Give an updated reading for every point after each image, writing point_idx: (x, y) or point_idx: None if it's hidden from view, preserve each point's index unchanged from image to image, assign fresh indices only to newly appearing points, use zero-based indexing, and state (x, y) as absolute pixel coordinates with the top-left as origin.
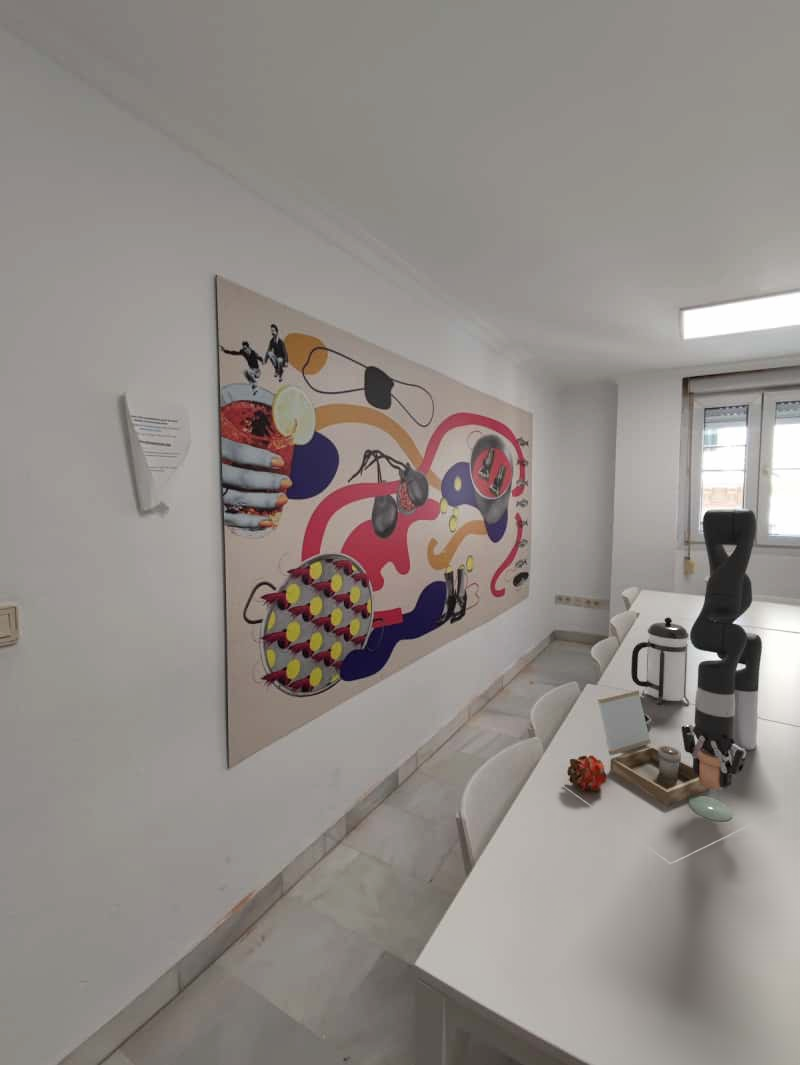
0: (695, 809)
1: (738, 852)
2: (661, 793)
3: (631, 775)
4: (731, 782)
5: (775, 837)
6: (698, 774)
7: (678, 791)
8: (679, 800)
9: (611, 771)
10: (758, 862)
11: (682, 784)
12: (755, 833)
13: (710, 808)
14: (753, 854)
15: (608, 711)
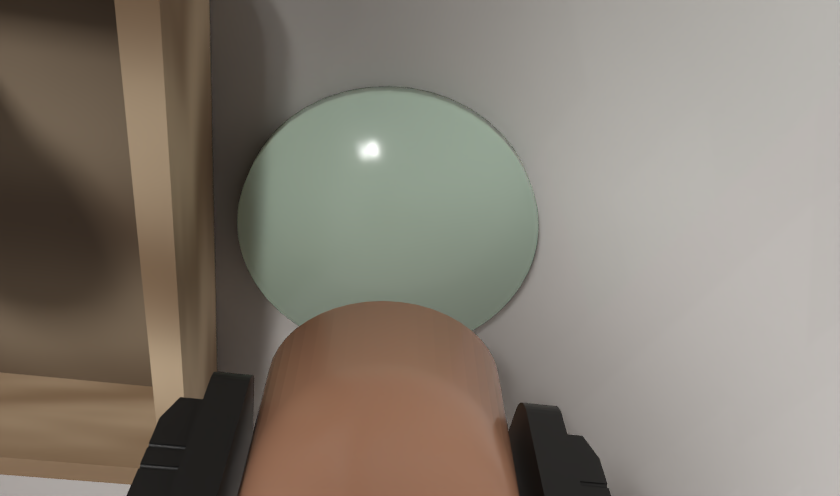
0: None
1: (642, 449)
2: None
3: None
4: (603, 473)
5: (813, 178)
6: (250, 437)
7: (192, 374)
8: (212, 307)
9: None
10: (731, 445)
11: (160, 337)
12: (694, 241)
13: (399, 256)
14: (705, 415)
15: None
